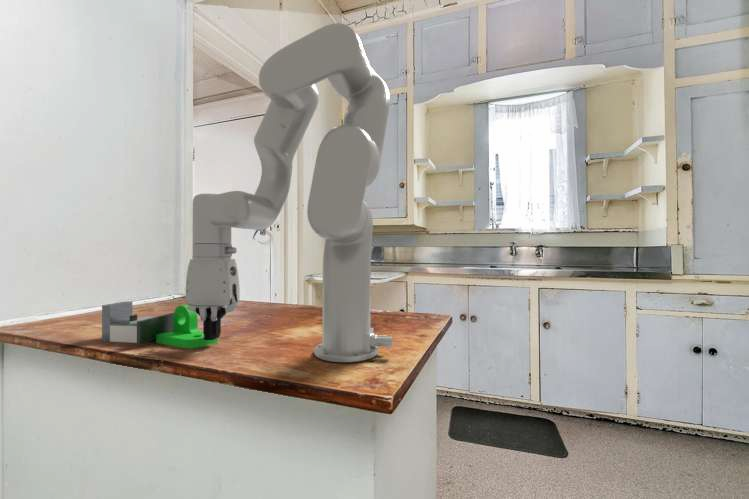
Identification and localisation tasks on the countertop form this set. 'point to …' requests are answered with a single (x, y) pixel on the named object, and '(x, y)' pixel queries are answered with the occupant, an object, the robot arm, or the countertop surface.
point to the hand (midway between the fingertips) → (212, 338)
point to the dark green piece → (151, 326)
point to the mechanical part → (184, 331)
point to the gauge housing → (118, 323)
